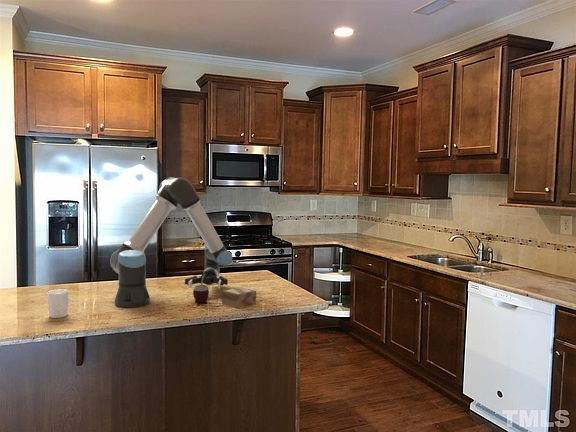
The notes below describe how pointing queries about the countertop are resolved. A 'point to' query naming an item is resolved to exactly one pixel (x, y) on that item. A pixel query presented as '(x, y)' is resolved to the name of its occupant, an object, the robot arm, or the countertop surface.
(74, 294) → the countertop surface
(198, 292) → the mate gourd
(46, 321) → the countertop surface
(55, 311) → the white cup
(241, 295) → the brown cardboard box
